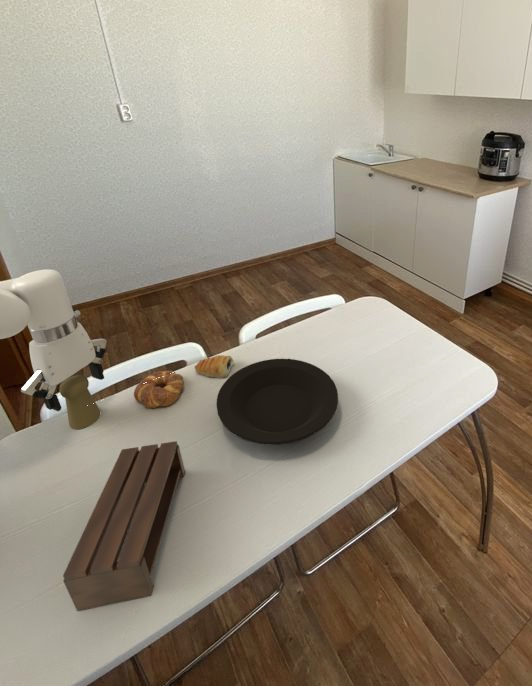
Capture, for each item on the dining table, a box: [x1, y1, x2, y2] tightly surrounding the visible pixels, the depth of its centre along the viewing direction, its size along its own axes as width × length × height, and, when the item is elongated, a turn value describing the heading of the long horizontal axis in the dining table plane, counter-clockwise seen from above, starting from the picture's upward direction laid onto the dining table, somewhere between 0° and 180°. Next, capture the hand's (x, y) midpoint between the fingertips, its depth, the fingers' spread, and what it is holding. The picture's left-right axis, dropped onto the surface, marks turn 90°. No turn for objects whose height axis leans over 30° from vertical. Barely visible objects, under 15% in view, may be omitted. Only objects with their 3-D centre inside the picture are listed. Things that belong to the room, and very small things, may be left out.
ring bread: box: [133, 370, 184, 409], centre depth 94 cm, size 12×11×4 cm
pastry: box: [194, 354, 234, 379], centre depth 101 cm, size 9×7×4 cm
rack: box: [62, 440, 186, 612], centre depth 63 cm, size 10×20×8 cm, turn 10°
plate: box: [216, 358, 339, 446], centre depth 87 cm, size 28×24×6 cm
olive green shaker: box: [58, 374, 101, 430], centre depth 86 cm, size 6×6×11 cm
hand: (78, 392), depth 85 cm, fingers open, 9 cm apart
